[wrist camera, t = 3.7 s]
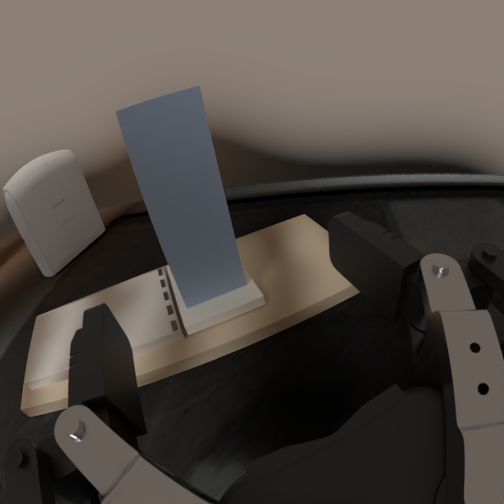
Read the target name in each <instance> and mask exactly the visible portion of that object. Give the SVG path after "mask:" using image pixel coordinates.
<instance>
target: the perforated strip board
mask: <svg viewBox="0 0 504 504" xmlns="http://www.w3.org/2000/svg"><path fill="white" fill-rule="evenodd" d="M236 244H237V248H238V252H239V256H240V260H241V264H242V266H243V267H244V268H245V270H246V271H247V273H248V274H249V276H250V277H251V278H252V280H253V281H254V283H255V284H256V286H257V287H258V288H259V290H260V291H261V293H262V294H263V296H264V300H265V305H262V306H260V307H257V308H255V309H253V310H250V311H248V312H246V313H243V314H241V315H238V316H236V317H233V318H231V319H228V320H226V321H224V322H221V323H219V324H216V325H214V326H211V327H209V328H206V329H203V330H201V331H198V332H196V333H193V334H191V335H188V333H187V331H186V329H185V327H184V324H183V321H182V317H181V314H180V311H179V308H178V305H177V301H176V298H175V295H174V291H173V288H172V284H171V281H170V277H169V274H168V270H167V267H166V266H168V265H166V266H163V267H160V268H158V269H155V270H153V271H150V272H147V273H145V274H142V275H140V276H137V277H135V278H132V279H129V280H127V281H124V282H122V283H119V284H117V285H114V286H112V287H109V288H106V289H104V290H101V291H99V292H96V293H94V294H91V295H89V296H86V297H84V298H81V299H79V300H76V301H74V302H71V303H69V304H66V305H64V306H61V307H59V308H56V309H54V310H52V311H49V312H47V313H44V314H42V315H39V316H37V318H36V322H35V326H34V330H33V335H32V340H31V344H30V349H29V354H28V360H27V366H26V372H25V378H24V386H23V393H22V402H21V410H22V411H23V412H24V413H26V414H27V415H28V416H29V417H32V416H37V415H41V414H46V413H50V412H54V411H58V410H62V409H66V408H68V377H69V369H70V367H69V358H70V344H71V341H72V339H73V337H74V334H75V332H76V330H78V329H80V328H82V325H83V313H84V311H85V310H87V309H89V308H92V307H95V306H97V305H100V304H102V303H105V304H106V305H107V306H108V307H109V309H110V310H111V312H112V313H113V315H114V317H115V318H116V320H117V321H118V323H119V324H120V326H121V328H122V329H123V331H124V332H125V334H126V335H127V337H128V339H129V342H130V344H131V347H132V352H133V359H134V366H135V373H136V379H137V385H138V387H140V386H143V385H146V384H149V383H152V382H155V381H158V380H161V379H164V378H166V377H169V376H172V375H175V374H178V373H180V372H183V371H186V370H188V369H191V368H194V367H196V366H199V365H202V364H204V363H207V362H209V361H212V360H214V359H217V358H219V357H222V356H224V355H227V354H229V353H232V352H234V351H237V350H239V349H241V348H244V347H246V346H248V345H251V344H253V343H255V342H258V341H260V340H262V339H265V338H267V337H269V336H271V335H274V334H276V333H278V332H280V331H282V330H285V329H287V328H289V327H291V326H293V325H295V324H298V323H300V322H302V321H304V320H306V319H308V318H310V317H312V316H314V315H316V314H318V313H320V312H323V311H325V310H327V309H329V308H331V307H333V306H335V305H337V304H339V303H341V302H342V301H344V300H346V299H348V298H350V297H352V296H354V295H356V294H358V293H360V291H359V290H357V289H356V288H355V287H354V286H353V285H352V284H351V283H350V282H349V281H348V280H347V279H346V278H345V277H343V276H342V275H341V274H340V273H339V272H338V271H337V270H336V269H335V268H334V266H333V265H332V263H331V260H330V256H329V236H328V231H326V230H325V229H324V228H322V227H321V226H320V225H318V224H317V223H316V222H314V221H313V220H312V219H310V218H309V217H308V216H306V215H305V214H303V215H300V216H298V217H295V218H292V219H289V220H287V221H284V222H281V223H278V224H276V225H273V226H270V227H267V228H265V229H262V230H259V231H256V232H254V233H251V234H248V235H245V236H243V237H240V238H237V239H236Z"/></svg>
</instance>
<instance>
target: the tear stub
mask: <svg viewBox="0 0 504 504" xmlns="http://www.w3.org/2000/svg"><path fill="white" fill-rule="evenodd" d="M116 114H117V117H118V121H119V124H120V128H121V131H122V134H123V138H124V141H125V144H126V148H127V151H128V154H129V157H130V160H131V163H132V166H133V170H134V173H135V175H136V178H137V182H138V184H139V187H140V190H141V193H142V196H143V199H144V202H145V205H146V207H147V210H148V213H149V216H150V218H151V221H152V224H153V226H154V229H155V232H156V234H157V237H158V240H159V242H160V245H161V247H162V250H163V252H164V255H165V257H166V260H167V262H168V266H166V267H167V270H168V274H169V277H170V281H171V284H172V288H173V291H174V295H175V298H176V301H177V305H178V308H179V311H180V314H181V317H182V321H183V324H184V327H185V329H186V331H187V333H188V335H191V334H193V333H196V332H198V331H201V330H203V329H206V328H209V327H211V326H214V325H216V324H219V323H221V322H224V321H226V320H228V319H231V318H233V317H236V316H238V315H241V314H243V313H246V312H248V311H250V310H253V309H255V308H257V307H260V306H262V305H265V300H264V296H263V294H262V293H261V291H260V290H259V288H258V287H257V286H256V284H255V283H254V281H253V280H252V278H251V277H250V276H249V274H248V273H247V271H246V270H245V268H244V267H243V266H242V264H241V260H240V256H239V252H238V248H237V244H236V239H235V235H234V231H233V227H232V223H231V219H230V215H229V211H228V206H227V202H226V198H225V194H224V190H223V186H222V181H221V177H220V173H219V169H218V165H217V160H216V156H215V152H214V147H213V143H212V139H211V135H210V131H209V126H208V122H207V117H206V113H205V109H204V104H203V100H202V95H201V91H200V87H199V86H196V87H190V88H185V89H181V90H178V91H174V92H170V93H167V94H163V95H160V96H157V97H153V98H151V99H147V100H144V101H141V102H138V103H135V104H132V105H129V106H127V107H124V108H121V109H119V110H117V111H116Z"/></svg>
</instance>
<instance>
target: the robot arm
mask: <svg viewBox="0 0 504 504" xmlns="http://www.w3.org/2000/svg"><path fill="white" fill-rule="evenodd" d="M328 236H329V256H330V260H331V263H332V265H333V266H334V268H335V269H336V270H337V271H338V272H339V273H340V274H341V275H342V276H343V277H345V278H346V279H347V280H348V281H349V282H350V283H351V284H352V285H353V286H354V287H355V288H356V289H357V290H359V291H360V292H361V293H362V294H363V295H364V296H365V297H366V298H367V299H368V300H369V301H370V302H371V303H372V304H373V305H374V306H376V307H377V308H378V309H379V310H380V311H381V312H382V313H383V314H384V315H385V316H386V317H387V318H388V319H389V320H390V321H391V322H392V323H395V322H396V321H398V320H399V319H401V318H402V317H405V318H406V319H407V323H406V330H407V340H408V351H409V365H410V374H409V380H408V385H407V390H403V391H402V390H401V389H400V388H399V387H398V386H397V384H394V385H393V386H391V387H390V388H388V389H387V390H386V391H384V392H383V393H381V394H380V395H378V396H376V397H375V398H373V399H372V400H370V401H369V402H367V403H366V404H364V405H363V406H362V407H361V408H360V409H359V410H358V411H357V412H356V413H355V414H354V415H353V416H352V417H351V418H350V419H349V420H348V421H347V422H346V423H345V424H344V425H343V426H342V427H341V428H339V429H338V430H337V431H336V432H335V433H334V434H332V435H331V436H328V437H325V438H321V439H317V440H313V441H309V442H305V443H301V444H296V445H292V446H287V447H284V448H282V449H279V450H277V451H275V452H272V453H270V454H268V455H265V456H263V457H261V458H258V459H256V460H253V461H251V462H248V463H245V464H243V465H244V467H245V469H246V471H247V473H246V474H244V475H243V476H241V477H240V478H239V479H238V480H237V481H235V482H234V483H233V484H232V485H231V486H230V487H229V488H228V489H227V491H226V492H225V493H224V495H223V496H222V498H221V499H220V501H218V500H216V499H214V498H213V497H211V496H209V495H207V494H206V493H204V492H202V491H201V490H199V489H197V488H195V487H194V486H192V485H190V484H189V483H187V482H185V481H184V480H182V479H181V478H179V477H178V476H176V475H175V474H173V473H172V472H170V471H169V470H168V469H166V468H165V467H163V466H162V465H161V464H159V463H158V462H156V461H155V460H154V459H152V458H151V457H150V456H148V455H147V454H146V453H145V452H143V451H142V450H141V449H139V448H138V444H137V439H136V437H137V436H140V435H144V434H147V431H146V426H145V422H144V417H143V412H142V407H141V402H140V396H139V391H138V385H137V379H136V373H135V366H134V359H133V352H132V347H131V344H130V342H129V339H128V337H127V335H126V334H125V332H124V331H123V329H122V328H121V326H120V324H119V323H118V321H117V320H116V318H115V317H114V315H113V313H112V312H111V310H110V309H109V307H108V306H107V305H106V304H105V303H102V304H100V305H97V306H95V307H92V308H89V309H87V310H85V311H84V313H83V325H82V328H80V329H78V330H76V332H75V334H74V337H73V339H72V341H71V344H70V358H69V367H70V369H69V377H68V408H67V409H66V410H65V411H64V412H62V414H61V415H60V416H59V418H58V419H57V422H56V425H55V431H54V432H55V434H54V435H52V436H51V437H49V438H47V439H46V440H44V441H43V442H41V443H39V444H38V445H34V444H33V443H31V442H30V441H28V440H26V439H18V440H16V441H14V442H13V443H12V444H11V445H10V447H9V448H8V450H7V453H6V458H5V469H6V485H7V495H8V504H56V503H55V499H56V500H57V501H58V504H100V501H99V497H98V493H99V492H100V493H101V494H102V497H101V502H102V504H504V315H503V314H502V313H501V312H499V311H498V310H497V309H496V308H495V307H494V306H493V305H492V304H491V303H490V302H491V300H492V297H493V295H494V292H495V291H496V292H497V293H499V294H500V295H501V296H502V297H503V298H504V252H503V251H502V250H500V249H499V248H497V247H496V246H494V245H491V244H488V243H478V244H475V245H474V246H473V248H472V252H471V255H470V258H468V259H464V260H460V261H456V260H454V259H453V258H451V257H449V256H447V255H444V254H438V253H434V254H429V255H426V256H425V255H424V254H422V253H421V252H419V251H418V250H417V249H415V248H414V247H412V246H411V245H409V244H408V243H406V242H405V241H403V240H402V239H400V238H399V237H396V235H394V234H393V233H391V232H388V230H387V229H385V228H383V227H382V226H380V225H379V224H377V223H374V222H370V221H367V220H362V219H361V218H359V217H358V216H356V215H355V214H353V213H351V212H345V213H342V214H339V215H337V216H334V217H331V218H330V219H329V221H328Z"/></svg>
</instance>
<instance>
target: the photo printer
mask: <svg viewBox="0 0 504 504" xmlns="http://www.w3.org/2000/svg"><path fill="white" fill-rule="evenodd" d="M3 193H4V197H5V200H6V205H7V207H8V210H9V212H10V214H11V216H12V218H13V220H14V222H15V224H16V226H17V228H18V230H19V232H20V234H21V236H22V238H23V240H24V242H25V244H26V246H27V247H28V249H29V251H30V253H31V255H32V256H33V258H34V260H35V262H36V263H37V265H38V267H39V268H40V270H41V272H42V273H43V275H44V276H45V277H52V276H54V275H55V274H56V273H58V272H59V271H60V270H61V269H62V268H63V267H65V266H66V265H67V264H68V263H69V262H70V261H71V260H73V259H74V258H75V257H76V256H77V255H78V254H79V253H80V252H82V251H83V250H84V249H85V248H86V247H87V246H88V245H90V244H91V243H92V242H93V241H94V240H95V239H97V238H98V237H99V236H100V235H101V234H102V233H103V232H104V231H105V227H104V224H103V222H102V220H101V217H100V215H99V212H98V210H97V208H96V205H95V203H94V201H93V198H92V196H91V193H90V191H89V188H88V186H87V183H86V181H85V178H84V176H83V173H82V170H81V168H80V165H79V162H78V160H77V158H76V157H75V155H74V154H73V152H72V151H70V150H59V151H55V152H51V153H48V154H45V155H42V156H40V157H38V158H36V159H34V160H32V161H31V162H30V163H28V164H26V165H25V166H24V167H22V168H21V169H20V170H19V171H18V172H17V173H15V175H14V176H13V177H12V178H11V179H10V180H9V181H8V183H7V184H6V185H5V187H4V188H3Z"/></svg>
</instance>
